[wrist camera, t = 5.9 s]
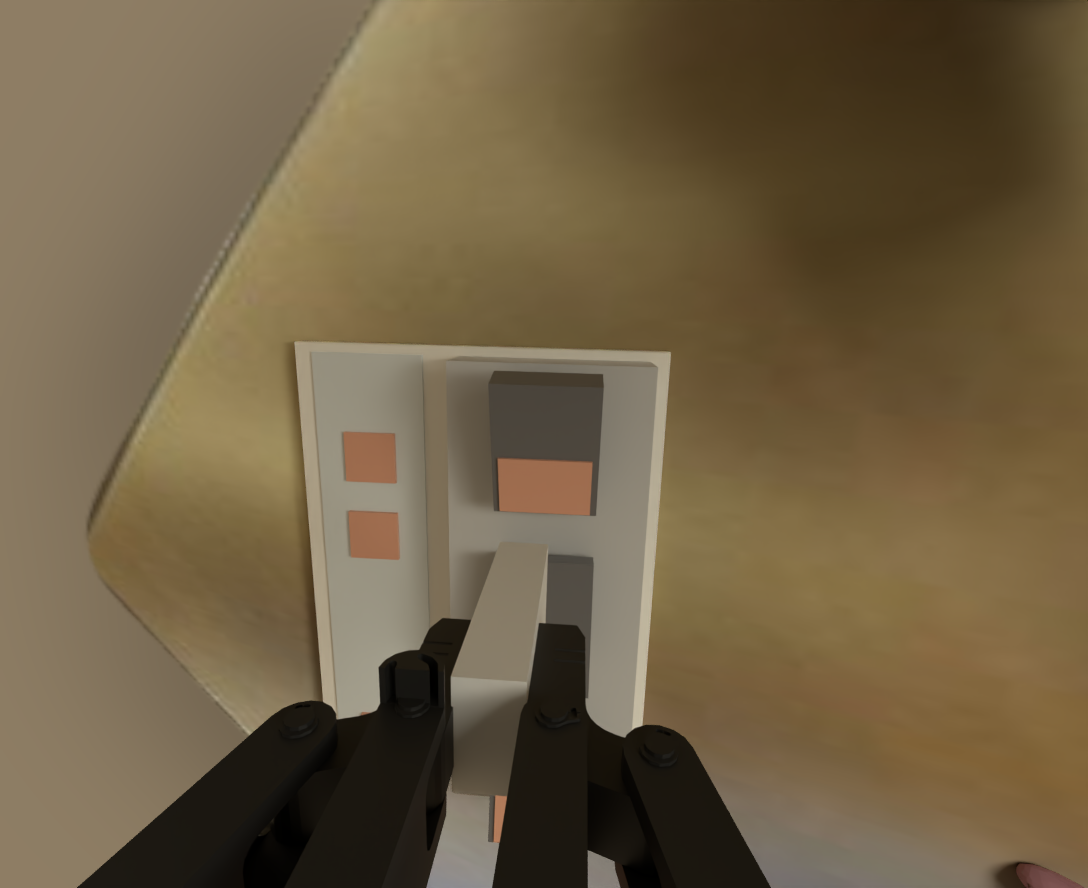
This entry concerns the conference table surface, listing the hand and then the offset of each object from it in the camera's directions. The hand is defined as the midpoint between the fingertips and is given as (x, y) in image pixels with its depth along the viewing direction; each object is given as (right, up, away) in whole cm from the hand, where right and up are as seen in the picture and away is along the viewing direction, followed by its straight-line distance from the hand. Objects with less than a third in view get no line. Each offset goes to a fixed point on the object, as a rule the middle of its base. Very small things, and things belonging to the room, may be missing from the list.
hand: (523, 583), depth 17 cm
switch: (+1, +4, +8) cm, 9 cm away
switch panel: (-3, -3, +16) cm, 16 cm away
